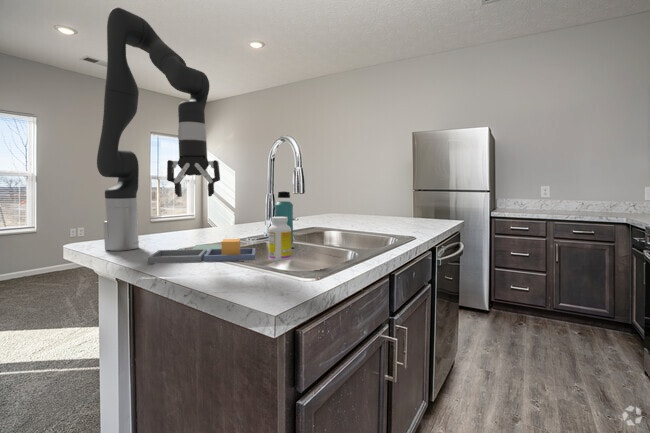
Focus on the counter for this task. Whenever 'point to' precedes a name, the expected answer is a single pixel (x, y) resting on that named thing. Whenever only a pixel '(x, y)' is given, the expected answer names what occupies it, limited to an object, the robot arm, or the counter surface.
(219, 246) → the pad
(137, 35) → the robot arm
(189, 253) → the grey tray
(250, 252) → the navy tray
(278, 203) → the beverage bottle
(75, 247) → the counter surface
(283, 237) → the supplement bottle
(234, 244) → the orange cube
